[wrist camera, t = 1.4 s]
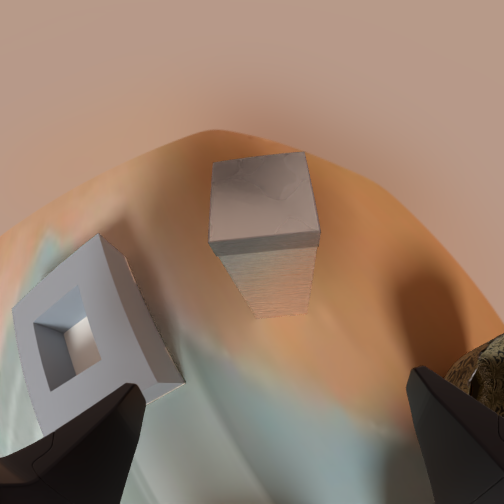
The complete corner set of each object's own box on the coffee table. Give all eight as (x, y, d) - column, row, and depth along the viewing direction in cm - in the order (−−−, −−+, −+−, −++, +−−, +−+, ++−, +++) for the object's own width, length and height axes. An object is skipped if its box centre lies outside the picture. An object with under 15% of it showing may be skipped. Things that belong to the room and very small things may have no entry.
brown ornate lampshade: (416, 355, 18) (469, 339, 11) (481, 345, 17) (538, 323, 10) (411, 442, 15) (461, 463, 8) (478, 423, 14) (535, 427, 7)
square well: (185, 383, 20) (157, 382, 16) (79, 436, 18) (44, 439, 14) (125, 256, 26) (98, 233, 22) (42, 321, 24) (11, 308, 20)
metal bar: (307, 314, 21) (320, 231, 10) (256, 319, 22) (208, 242, 10) (302, 267, 23) (304, 151, 12) (254, 271, 24) (212, 162, 12)
